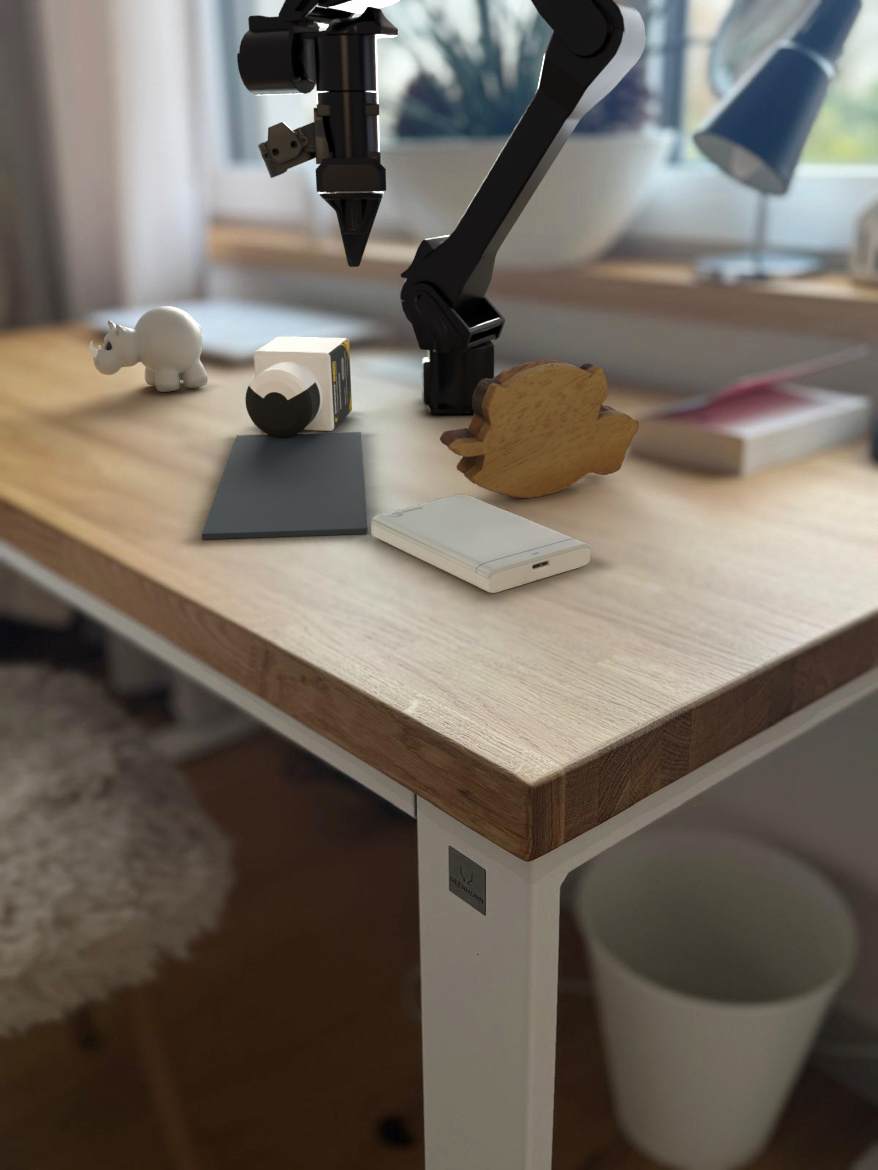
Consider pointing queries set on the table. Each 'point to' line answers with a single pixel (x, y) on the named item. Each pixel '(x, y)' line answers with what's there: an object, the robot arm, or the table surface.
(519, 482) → the wooden carving
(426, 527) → the hard drive
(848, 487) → the table surface
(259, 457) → the slate mat
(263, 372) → the medicine bottle
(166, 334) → the chubby cartoon animal
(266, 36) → the robot arm
